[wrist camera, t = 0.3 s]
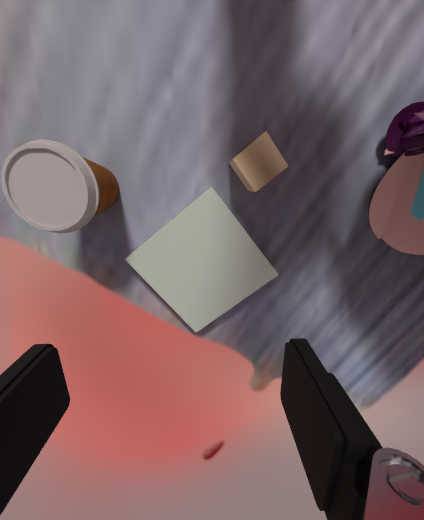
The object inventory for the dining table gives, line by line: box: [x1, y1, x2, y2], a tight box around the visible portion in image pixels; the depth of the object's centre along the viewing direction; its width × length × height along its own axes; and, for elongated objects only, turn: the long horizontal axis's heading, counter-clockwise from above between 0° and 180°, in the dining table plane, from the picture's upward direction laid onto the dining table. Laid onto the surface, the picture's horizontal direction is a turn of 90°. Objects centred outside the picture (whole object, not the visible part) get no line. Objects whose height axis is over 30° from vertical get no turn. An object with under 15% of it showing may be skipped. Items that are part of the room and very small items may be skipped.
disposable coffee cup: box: [1, 140, 119, 233], centre depth 29 cm, size 10×10×12 cm
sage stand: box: [125, 186, 278, 332], centre depth 37 cm, size 17×17×3 cm
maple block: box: [229, 131, 288, 192], centre depth 32 cm, size 5×5×6 cm
